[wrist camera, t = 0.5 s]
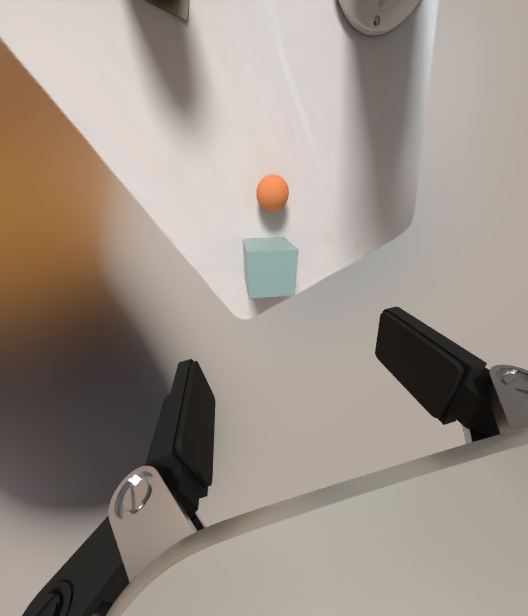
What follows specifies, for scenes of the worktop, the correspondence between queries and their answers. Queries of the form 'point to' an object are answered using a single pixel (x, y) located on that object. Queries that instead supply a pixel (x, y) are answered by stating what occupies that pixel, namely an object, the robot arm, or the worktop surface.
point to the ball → (272, 192)
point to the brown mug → (173, 6)
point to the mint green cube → (270, 267)
